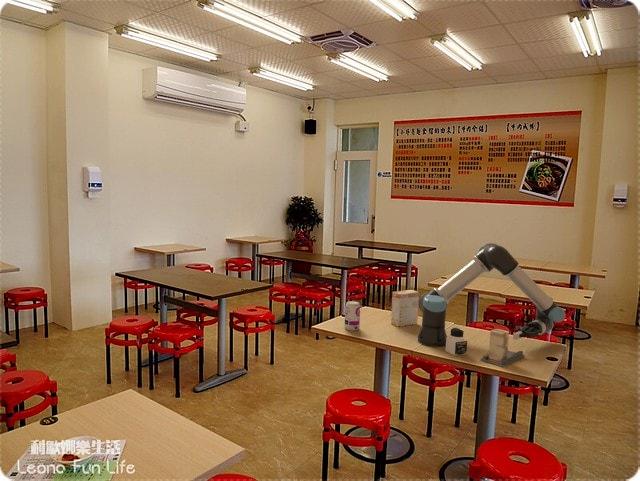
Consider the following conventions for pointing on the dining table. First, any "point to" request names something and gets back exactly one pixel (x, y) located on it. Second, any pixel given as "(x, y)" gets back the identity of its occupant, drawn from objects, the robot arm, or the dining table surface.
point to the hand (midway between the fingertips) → (514, 336)
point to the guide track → (505, 361)
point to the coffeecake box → (404, 307)
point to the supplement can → (352, 315)
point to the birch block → (498, 344)
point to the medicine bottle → (456, 342)
